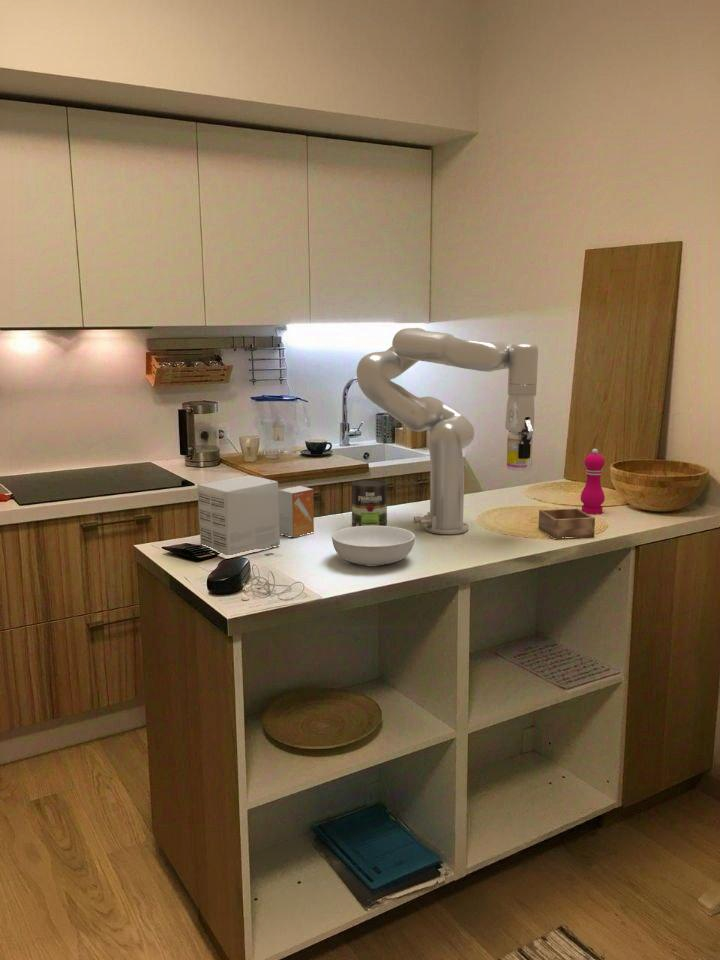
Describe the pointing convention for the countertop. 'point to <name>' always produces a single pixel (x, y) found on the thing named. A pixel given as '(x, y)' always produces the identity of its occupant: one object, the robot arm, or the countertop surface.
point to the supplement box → (239, 514)
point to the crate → (567, 523)
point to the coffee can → (369, 502)
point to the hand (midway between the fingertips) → (519, 455)
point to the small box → (296, 511)
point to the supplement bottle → (516, 454)
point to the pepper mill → (593, 484)
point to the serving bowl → (373, 544)
